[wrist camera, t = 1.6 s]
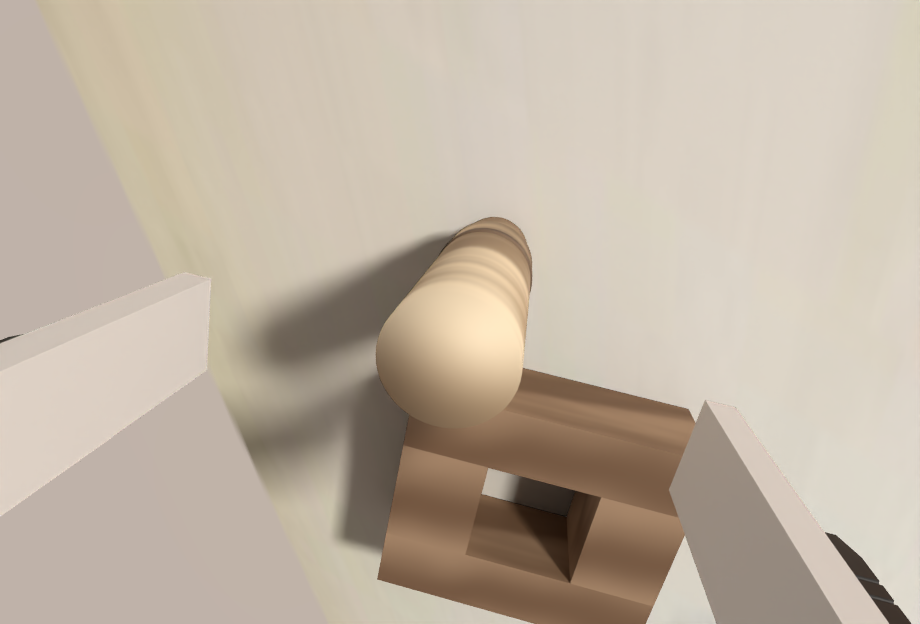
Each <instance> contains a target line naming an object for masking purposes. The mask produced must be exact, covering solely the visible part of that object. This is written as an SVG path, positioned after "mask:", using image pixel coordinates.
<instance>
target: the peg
mask: <svg viewBox="0 0 920 624" xmlns="http://www.w3.org/2000/svg"><path fill="white" fill-rule="evenodd" d="M531 286H532V257H531V253H530V250H529V247H528V245H527V242H526V239H525V237H524V235H523V233H522V231H521V230H520V229H519V228H518V227H517V226H516V225H515V224H514V223H512V222H511V221H509V220H506V219H503V218H499V217H489V218H484V219H482V220H479V221H477V222H476V223H473V224H471V225H469V226H467V227H465V228H463V229H462V230H461V231H460V232H458V233H457V234H456V235H455V237H454V238H453V239H452V240H450V241H449V242H448V243H447V245H446V246H445V247H444V248H443V250H442V251H441V253H440V254H439V256H438V258H437V259H436V260H435V261H434V262H433V264H432V265H431V266H430V267H429V269H428V270H427V271H426V272H425V274H424V275H423V276H422V277H421V278H420V280H419V281H418V282H417V283H416V285H415V286H414V287H413V288H412V289H411V291H410V292H409V293H408V294H407V296H406V297H405V298H404V299H403V300H402V302H401V303H400V304H399V305H398V307H397V308H396V309H395V310H394V312H393V313H392V314H391V315H390V317H389V318H388V319H387V320H386V322H385V324H384V325H383V327H382V329H381V332H380V334H379V337H378V341H377V345H376V365H377V370H378V374H379V377H380V380H381V382H382V384H383V386H384V388H385V390H386V391H387V393H388V394H389V396H390V397H391V398H392V400H393V401H394V402H395V403H396V404H397V405H398V406H399V407H400V408H401V409H402V410H404V411H405V412H406V413H408V414H409V415H411V416H412V417H414V418H416V419H417V420H420V421H422V422H424V423H427V424H430V425H433V426H437V427H442V428H466V427H472V426H475V425H479V424H481V423H484V422H486V421H488V420H490V419H492V418H493V417H495V416H496V415H498V414H499V413H500V412H501V411H503V410H504V409H505V408H506V406H507V405H508V404H509V403H510V402H511V400H512V399H513V397H514V395H515V394H516V392H517V390H518V387H519V384H520V381H521V376H522V369H523V358H524V347H525V337H526V326H527V316H528V305H529V294H530V291H531Z"/></svg>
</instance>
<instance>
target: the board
mask: <svg viewBox="0 0 920 624" xmlns="http://www.w3.org/2000/svg"><path fill="white" fill-rule="evenodd" d="M695 424H696V423H695V421H694V419H693V417H692V415H691V413H690V411H689V409H686V408H682V407H678V406H674V405H670V404H666V403H662V402H658V401H653V400H649V399H645V398H641V397H637V396H633V395H629V394H625V393H621V392H617V391H613V390H609V389H605V388H601V387H597V386H593V385H589V384H585V383H581V382H577V381H573V380H569V379H565V378H561V377H557V376H553V375H549V374H545V373H541V372H537V371H533V370H529V369H525V368H523V369H522V376H521V381H520V384H519V387H518V390H517V392H516V394H515V395H514V397H513V399H512V400H511V402H510V403H509V404H508V405H507V406H506V408H505V409H504V410H503V411H501V412H500V413H499V414H498V415H496V416H495V417H493V418H492V419H490V420H488V421H486V422H484V423H481V424H479V425H475V426H472V427H466V428H442V427H437V426H433V425H430V424H427V423H424V422H422V421H420V420H417V419H416V418H414V417H412V416H411V415H409V418H408V423H407V428H406V433H405V439H404V444H403V449H402V454H401V459H400V464H399V470H398V475H397V480H396V485H395V490H394V495H393V501H392V506H391V511H390V516H389V521H388V526H387V532H386V537H385V542H384V547H383V552H382V558H381V563H380V568H379V573H378V578H377V579H378V580H382V581H385V582H389V583H392V584H396V585H399V586H403V587H406V588H410V589H413V590H417V591H421V592H424V593H428V594H431V595H435V596H438V597H442V598H445V599H449V600H452V601H456V602H460V603H463V604H467V605H470V606H474V607H477V608H481V609H484V610H488V611H491V612H495V613H499V614H502V615H506V616H509V617H513V618H516V619H520V620H523V621H527V622H530V623H534V624H646V622H647V619H648V617H649V615H650V612H651V610H652V608H653V606H654V603H655V601H656V599H657V597H658V594H659V592H660V590H661V588H662V585H663V583H664V581H665V579H666V576H667V574H668V572H669V570H670V567H671V565H672V563H673V560H674V558H675V556H676V554H677V551H678V549H679V547H680V545H681V542H682V540H683V538H684V536H685V534H684V531H683V528H682V525H681V522H680V519H679V517H678V514H677V511H676V508H675V505H674V503H673V500H672V497H671V494H670V491H669V488H670V486H671V483H672V481H673V478H674V476H675V473H676V471H677V468H678V466H679V464H680V461H681V459H682V456H683V454H684V451H685V449H686V446H687V444H688V441H689V439H690V436H691V434H692V431H693V429H694V426H695ZM488 468H491V469H495V470H499V471H503V472H507V473H510V474H514V475H518V476H522V477H526V478H529V479H533V480H537V481H541V482H545V483H548V484H552V485H556V486H560V487H564V488H567V489H571V490H575V493H574V496H573V499H572V502H571V505H570V508H569V511H568V514H567V517H565V516H561V515H557V514H553V513H550V512H546V511H542V510H538V509H535V508H531V507H527V506H523V505H520V504H516V503H512V502H508V501H505V500H501V499H497V498H493V497H490V496H486V495H482V494H481V493H482V489H483V486H484V482H485V478H486V474H487V471H488Z"/></svg>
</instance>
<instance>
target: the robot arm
mask: <svg viewBox="0 0 920 624" xmlns="http://www.w3.org/2000/svg"><path fill="white" fill-rule="evenodd" d="M210 294H211V278H207V277H203V276H199V275H195V274H191V273H187V272H183V273H180V274H178V275H175V276H173V277H170V278H167V279H165V280H162V281H160V282H158V283H154V284H152V285H150V286H147V287H144V288H142V289H139V290H137V291H134V292H131V293H129V294H126V295H124V296H121V297H118V298H116V299H113V300H111V301H108V302H105V303H103V304H100V305H98V306H95V307H93V308H90V309H87V310H85V311H82V312H80V313H77V314H75V315H72V316H70V317H67V318H64V319H62V320H59V321H57V322H54V323H51V324H49V325H46V326H44V327H41V328H39V329H36V330H33V331H31V332H28V333H26V334H22V335H17V336H12V337H8V338H5V339H3V340H0V516H2V515H3V514H4V513H6V512H7V511H9V510H10V509H11V508H13V507H14V506H16V505H17V504H19V503H20V502H21V501H23V500H24V499H26V498H27V497H28V496H30V495H31V494H33V493H34V492H35V491H37V490H38V489H40V488H41V487H43V486H44V485H45V484H47V483H48V482H50V481H51V480H53V479H54V478H55V477H56V476H58V475H59V474H61V473H62V472H64V471H65V470H66V469H68V468H69V467H71V466H72V465H74V464H75V463H77V462H78V461H79V460H81V459H82V458H84V457H85V456H86V455H88V454H89V453H91V452H92V451H93V450H95V449H96V448H98V447H99V446H101V445H102V444H103V443H105V442H106V441H107V440H109V439H110V438H112V437H113V436H115V435H116V434H118V433H119V432H120V431H122V430H123V429H124V428H126V427H127V426H129V425H130V424H131V423H133V422H134V421H136V420H137V419H139V418H140V417H141V416H143V415H144V414H146V413H147V412H148V411H150V410H151V409H153V408H154V407H156V406H157V405H158V404H160V403H161V402H163V401H164V400H166V399H167V398H168V397H170V396H171V395H173V394H174V393H175V392H176V391H178V390H180V389H181V388H183V387H184V386H185V385H186V384H188V383H190V382H191V381H192V380H194V379H195V378H197V377H198V376H199V375H201V374H202V373H204V372H205V371H207V356H208V336H209V315H210ZM669 491H670V494H671V497H672V500H673V503H674V505H675V508H676V511H677V514H678V517H679V519H680V522H681V525H682V528H683V531H684V534H685V536H686V539H687V542H688V545H689V548H690V550H691V553H692V556H693V559H694V562H695V564H696V567H697V570H698V573H699V576H700V578H701V581H702V584H703V587H704V590H705V592H706V595H707V598H708V601H709V604H710V606H711V609H712V612H713V615H714V618H715V620H716V623H717V624H911V622H910V621H909V620H908V618H907V617H906V616H905V615H904V613H903V612H902V611H901V609H900V608H899V607H898V606H897V605H894V600H893V599H892V597H891V596H890V595H889V593H888V592H887V591H886V589H885V588H884V587H883V586H882V585H879V580H878V579H877V577H876V576H875V575H874V573H873V572H872V571H871V569H870V568H869V567H868V565H867V564H866V563H865V561H864V560H863V559H862V558H861V557H860V556H859V555H858V554H857V553H856V552H855V551H853V550H852V549H851V548H850V547H849V546H848V545H847V544H845V543H844V542H843V541H842V540H841V539H840V538H839V537H837V536H836V535H833V534H829V533H826V532H824V531H823V529H822V528H821V527H820V525H819V524H818V522H817V521H816V520H815V518H814V517H813V515H812V514H811V513H810V511H809V510H808V508H807V507H806V506H805V504H804V503H803V501H802V500H801V498H800V497H799V496H798V494H797V493H796V491H795V490H794V489H793V487H792V486H791V484H790V483H789V482H788V480H787V479H786V477H785V476H784V474H783V473H782V472H781V470H780V469H779V467H778V466H777V465H776V463H775V462H774V460H773V459H772V458H771V456H770V455H769V453H768V452H767V450H766V449H765V448H764V446H763V445H762V443H761V442H760V441H759V439H758V438H757V436H756V435H755V434H754V432H753V431H752V429H751V428H750V426H749V425H748V424H747V422H746V421H745V419H744V418H743V417H742V415H741V414H740V412H739V411H738V410H737V408H736V407H732V406H728V405H724V404H720V403H715V402H711V401H707V400H705V402H704V404H703V407H702V409H701V412H700V414H699V417H698V419H697V422H696V424H695V426H694V429H693V431H692V434H691V436H690V439H689V441H688V444H687V446H686V449H685V451H684V454H683V456H682V459H681V461H680V464H679V466H678V468H677V471H676V473H675V476H674V478H673V481H672V483H671V486H670V488H669Z"/></svg>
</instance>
